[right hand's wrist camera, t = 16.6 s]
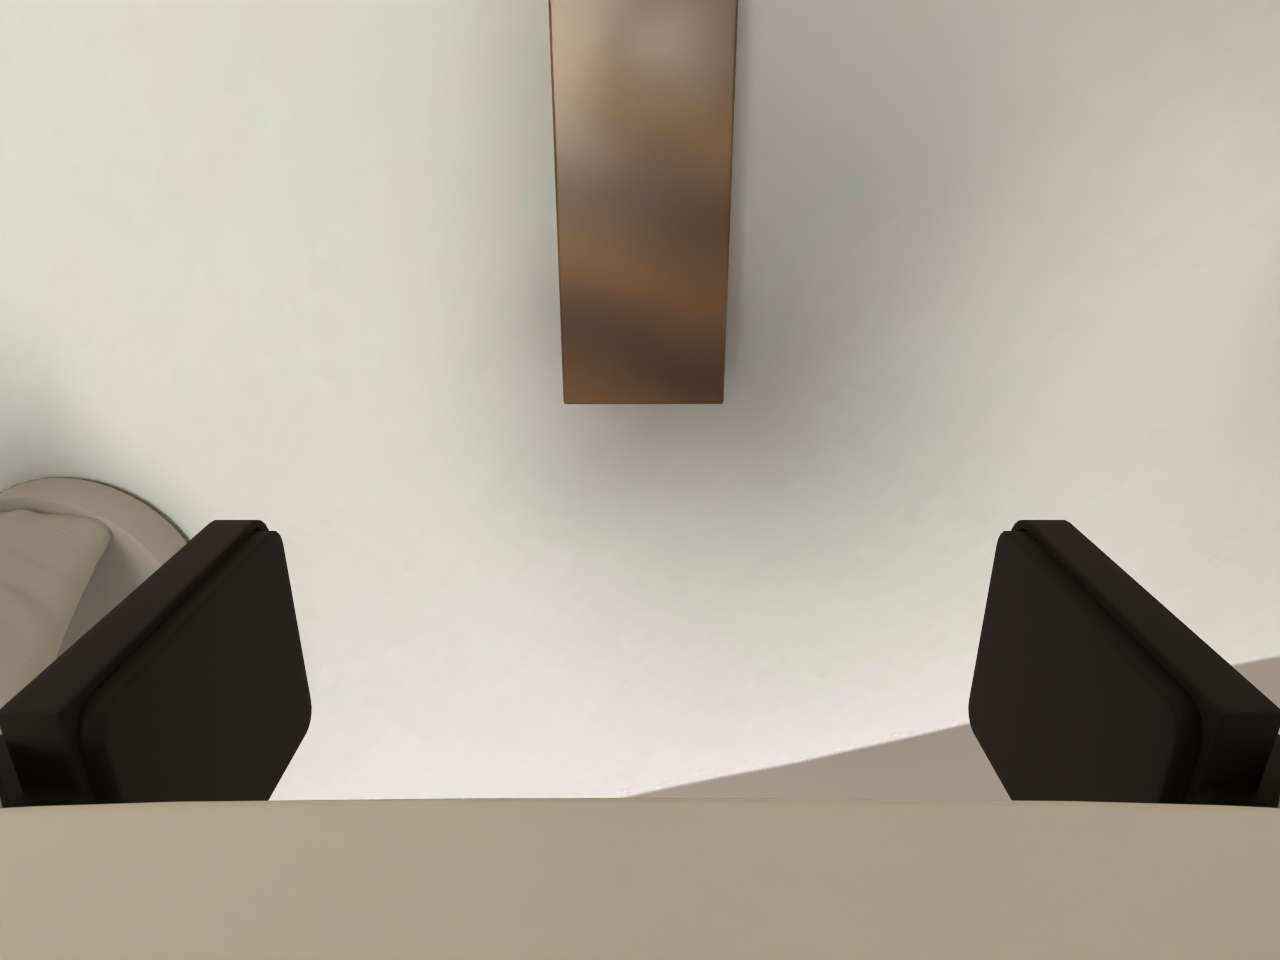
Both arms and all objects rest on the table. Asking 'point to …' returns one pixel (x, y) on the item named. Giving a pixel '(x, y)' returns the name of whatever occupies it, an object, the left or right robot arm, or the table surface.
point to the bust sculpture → (68, 567)
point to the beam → (643, 196)
